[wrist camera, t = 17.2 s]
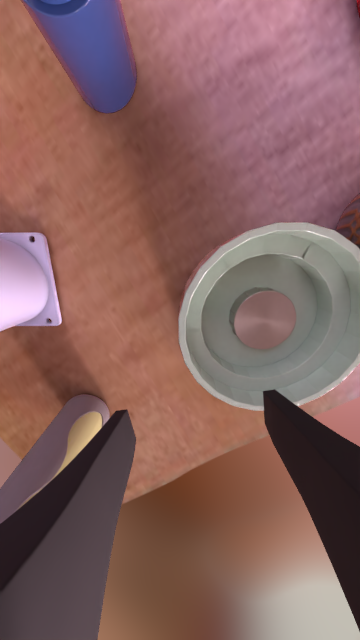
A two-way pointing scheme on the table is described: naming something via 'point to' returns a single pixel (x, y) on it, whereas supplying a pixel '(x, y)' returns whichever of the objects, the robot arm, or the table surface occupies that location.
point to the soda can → (358, 6)
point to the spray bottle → (53, 451)
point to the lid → (262, 318)
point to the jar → (90, 48)
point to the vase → (351, 222)
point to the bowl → (304, 292)
